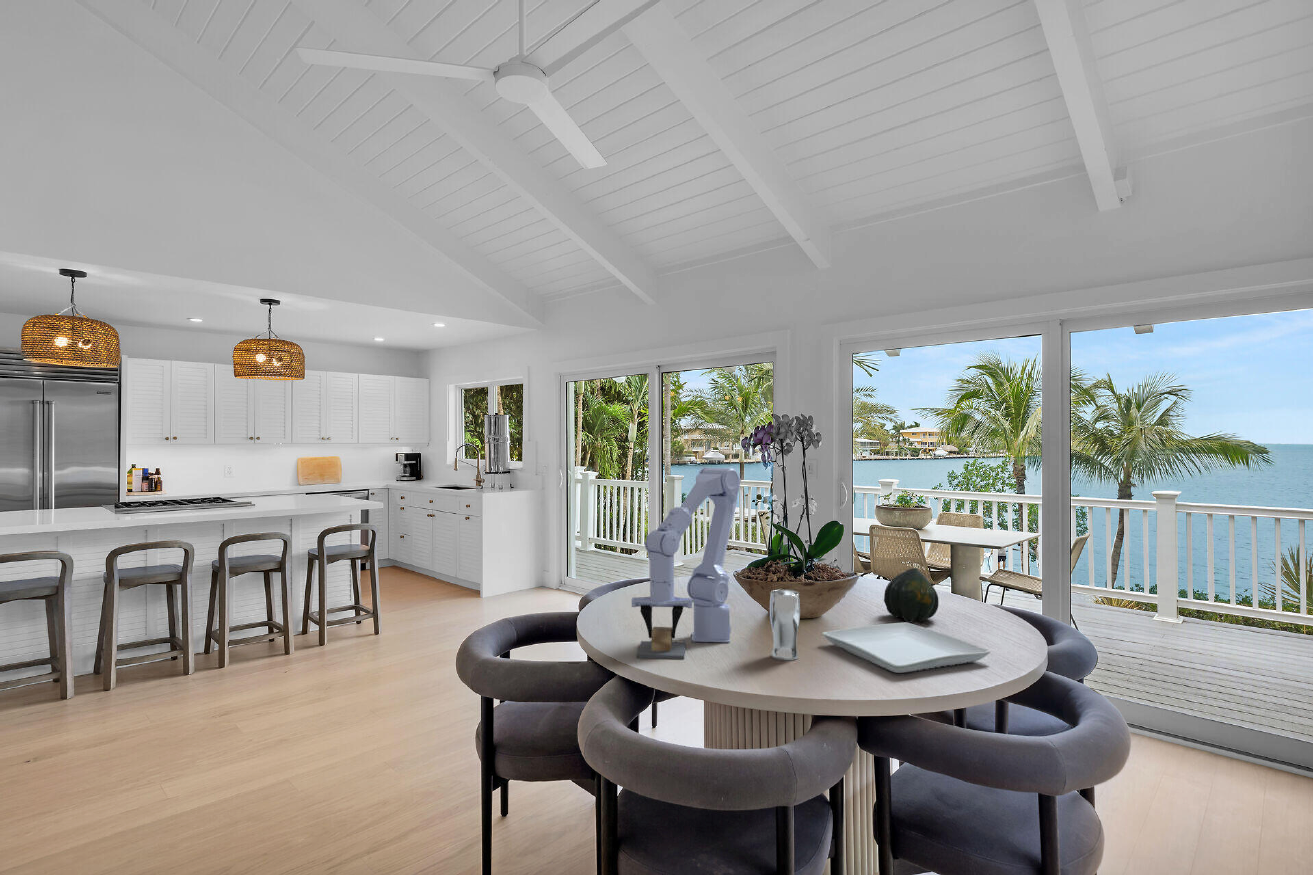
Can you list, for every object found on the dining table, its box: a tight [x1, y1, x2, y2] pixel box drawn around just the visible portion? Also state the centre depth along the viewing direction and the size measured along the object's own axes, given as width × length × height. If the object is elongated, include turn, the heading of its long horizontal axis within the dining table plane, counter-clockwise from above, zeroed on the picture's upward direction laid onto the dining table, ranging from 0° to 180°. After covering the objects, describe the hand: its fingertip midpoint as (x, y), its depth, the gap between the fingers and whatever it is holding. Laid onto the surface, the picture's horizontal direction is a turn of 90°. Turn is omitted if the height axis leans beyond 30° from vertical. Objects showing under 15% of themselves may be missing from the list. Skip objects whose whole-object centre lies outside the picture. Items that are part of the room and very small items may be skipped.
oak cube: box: [651, 626, 673, 651], centre depth 160 cm, size 4×4×4 cm
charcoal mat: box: [636, 640, 686, 660], centre depth 160 cm, size 11×11×1 cm
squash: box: [883, 567, 939, 623], centre depth 190 cm, size 14×15×15 cm
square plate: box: [822, 621, 991, 674], centre depth 157 cm, size 27×27×4 cm
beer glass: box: [769, 589, 801, 662], centre depth 156 cm, size 7×7×15 cm
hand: (661, 637), depth 160 cm, fingers open, 5 cm apart
